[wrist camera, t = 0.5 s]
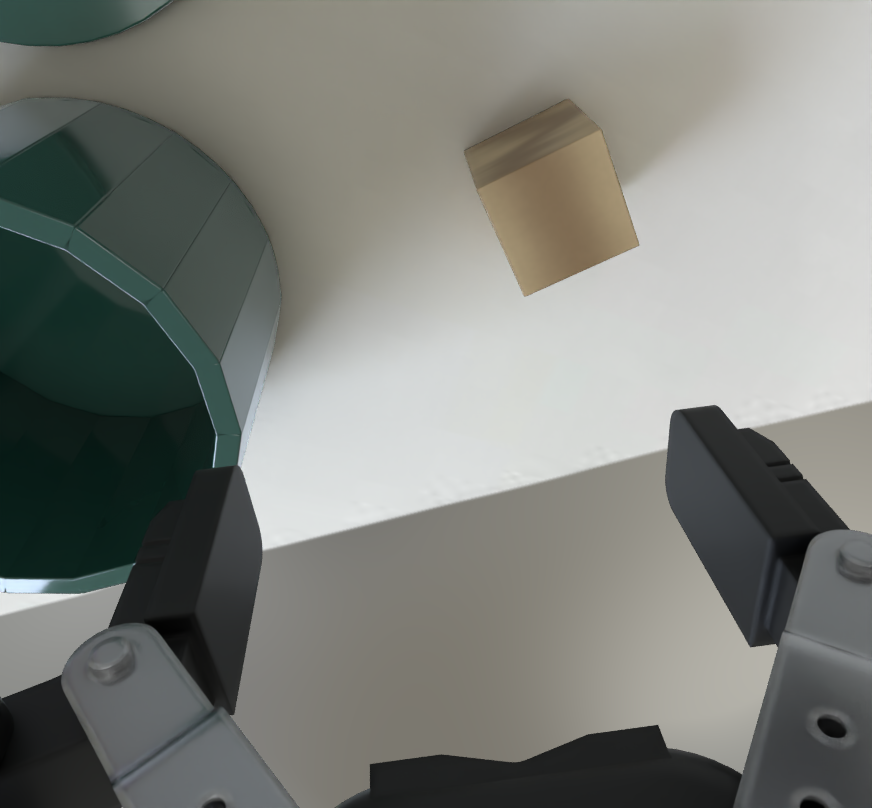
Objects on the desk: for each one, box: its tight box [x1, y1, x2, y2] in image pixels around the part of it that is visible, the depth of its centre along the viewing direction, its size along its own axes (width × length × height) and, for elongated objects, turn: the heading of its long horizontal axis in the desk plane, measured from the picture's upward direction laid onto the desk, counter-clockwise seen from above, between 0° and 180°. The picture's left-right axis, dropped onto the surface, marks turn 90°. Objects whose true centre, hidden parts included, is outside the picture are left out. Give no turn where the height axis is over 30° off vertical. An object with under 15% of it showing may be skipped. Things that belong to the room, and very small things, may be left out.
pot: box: [0, 98, 282, 594], centre depth 26 cm, size 15×15×10 cm
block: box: [464, 99, 639, 296], centre depth 27 cm, size 4×4×5 cm
